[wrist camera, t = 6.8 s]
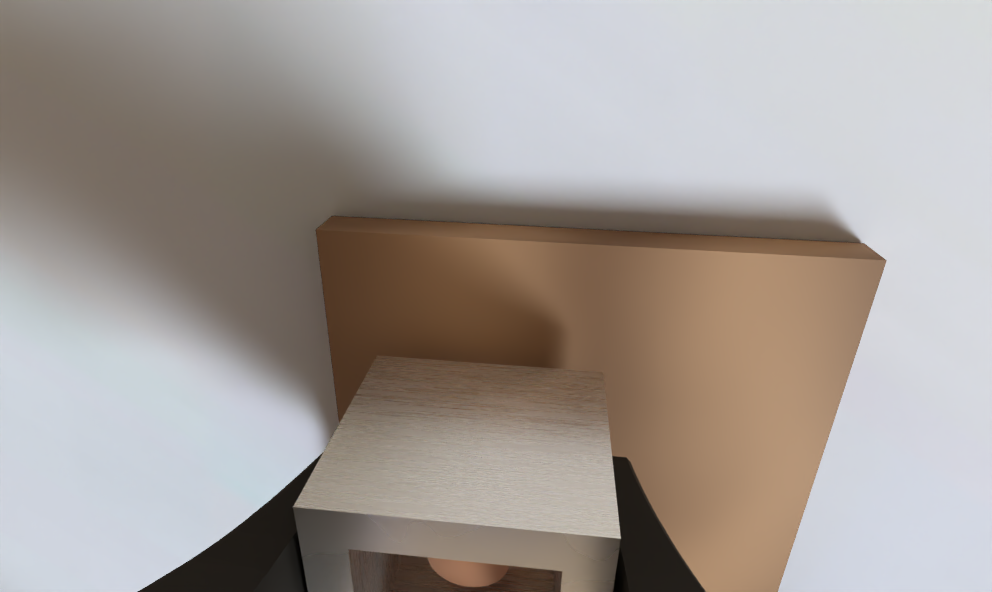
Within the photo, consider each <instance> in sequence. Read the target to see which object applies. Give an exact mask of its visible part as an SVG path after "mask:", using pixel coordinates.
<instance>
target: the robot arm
mask: <svg viewBox="0 0 992 592" xmlns="http://www.w3.org/2000/svg"><path fill="white" fill-rule="evenodd" d="M322 454H323V453H322ZM322 454H321V455H320V456H319V457H318V458H317V459H315V460H314V461H313V462H312V463H311V464H310V465H309V466H308V467H307V468H306V469H305V470H304V471H303V472H301V473H300V474H299V475H298V476H297V477H296V478H295V479H294V480H293V481H291V482H290V483H289V484H288V485H287V486H286V487H285V488H284V489H282V490H281V491H280V492H279V493H278V494H277V495H276V496H274V497H273V498H272V499H271V500H270V501H269V502H267V503H266V504H265V505H264V506H262V507H261V508H260V509H259V510H258V511H256V512H255V513H254V514H253V515H251V516H250V517H249V518H248V519H246V520H245V521H244V522H243V523H242V524H240V525H239V526H238V527H236V528H235V529H234V530H232V531H231V532H230V533H228V534H227V535H226V536H224V537H223V538H222V539H220V540H219V541H217V542H216V543H214V544H213V545H212V546H210V547H209V548H207V549H206V550H204V551H203V552H201V553H200V554H199V555H197V556H196V557H194V558H192V559H191V560H189V561H188V562H186V563H185V564H183V565H181V566H180V567H178V568H176V569H175V570H173V571H171V572H170V573H168V574H166V575H165V576H163V577H162V578H160V579H158V580H157V581H155V582H153V583H152V584H150V585H148V586H147V587H145V588H143V589H142V590H140V591H138V592H308V589H307V583H306V577H305V572H304V566H303V560H302V555H301V549H300V544H299V538H298V532H297V527H296V521H295V515H294V510H293V506H294V504H295V503H296V501H297V499H298V497H299V495H300V494H301V492H302V490H303V488H304V486H305V485H306V483H307V481H308V479H309V477H310V476H311V474H312V472H313V470H314V468H315V467H316V465H317V463H318V461H319V459H320V458H321V456H322ZM612 460H613V470H614V479H615V488H616V498H617V507H618V517H619V526H620V535H621V541H620V548H619V554H618V561H617V568H616V574H615V581H614V587H613V592H706V591H705V589H704V588H703V587H702V585H701V584H700V583H699V581H698V580H697V578H696V577H695V576H694V574H693V573H692V571H691V570H690V568H689V567H688V565H687V564H686V562H685V561H684V559H683V558H682V556H681V555H680V553H679V552H678V550H677V548H676V547H675V545H674V544H673V542H672V541H671V539H670V537H669V535H668V534H667V532H666V530H665V529H664V527H663V525H662V524H661V522H660V520H659V518H658V517H657V515H656V513H655V511H654V510H653V508H652V506H651V504H650V502H649V500H648V498H647V496H646V494H645V492H644V490H643V488H642V486H641V484H640V482H639V480H638V478H637V476H636V473H635V471H634V469H633V466H632V464H631V462H630V461H629V460H628V459H627V457H617V456H612Z"/></svg>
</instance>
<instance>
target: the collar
mask: <svg viewBox="0 0 992 592" xmlns="http://www.w3.org/2000/svg"><path fill="white" fill-rule="evenodd" d="M293 510H294V515H295V521H296V527H297V532H298V538H299V544H300V549H301V555H302V560H303V566H304V572H305V577H306V583H307V589H308V592H613V587H614V581H615V574H616V568H617V561H618V554H619V548H620V541H621V535H620V526H619V517H618V507H617V498H616V488H615V479H614V470H613V460H612V451H611V441H610V432H609V423H608V413H607V404H606V395H605V385H604V376H603V372H596V371H582V370H568V369H554V368H540V367H526V366H513V365H499V364H485V363H471V362H457V361H443V360H430V359H416V358H402V357H388V356H377V357H376V359H375V360H374V362H373V364H372V366H371V368H370V369H369V371H368V373H367V375H366V377H365V378H364V380H363V382H362V384H361V386H360V387H359V389H358V391H357V393H356V395H355V396H354V398H353V400H352V402H351V404H350V405H349V407H348V409H347V411H346V413H345V414H344V416H343V418H342V420H341V422H340V423H339V425H338V427H337V429H336V431H335V432H334V434H333V436H332V438H331V440H330V441H329V443H328V445H327V447H326V449H325V450H324V452H323V454H322V456H321V458H320V459H319V461H318V463H317V465H316V467H315V468H314V470H313V472H312V474H311V476H310V477H309V479H308V481H307V483H306V485H305V486H304V488H303V490H302V492H301V494H300V495H299V497H298V499H297V501H296V503H295V504H294V506H293ZM427 557H429V558H439V559H448V560H458V561H468V562H478V563H487V564H497V565H507V566H509V569H508V571H507V573H506V574H505V576H504V577H503V578H501V579H500V580H499V581H497V582H495V583H493V584H491V585H487V586H482V587H466V586H461V585H457V584H454V583H452V582H449V581H447V580H446V579H444V578H442V577H441V576H440V575H439V574H437V573H436V572H435V571H434V569H433V568H432V567H431V565H430V563H429V561H428V558H427Z"/></svg>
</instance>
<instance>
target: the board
mask: <svg viewBox="0 0 992 592" xmlns="http://www.w3.org/2000/svg"><path fill="white" fill-rule="evenodd" d="M316 236H317V244H318V252H319V261H320V269H321V277H322V285H323V294H324V302H325V310H326V318H327V327H328V335H329V343H330V351H331V360H332V368H333V376H334V385H335V393H336V401H337V409H338V418H339V423H340V422H341V420H342V418H343V416H344V414H345V413H346V411H347V409H348V407H349V405H350V404H351V402H352V400H353V398H354V396H355V395H356V393H357V391H358V389H359V387H360V386H361V384H362V382H363V380H364V378H365V377H366V375H367V373H368V371H369V369H370V368H371V366H372V364H373V362H374V360H375V359H376V357H377V356H388V357H402V358H416V359H430V360H443V361H457V362H471V363H485V364H499V365H513V366H526V367H540V368H554V369H568V370H582V371H596V372H603V376H604V385H605V395H606V404H607V413H608V423H609V432H610V441H611V451H612V456H617V457H627V459H628V460H629V461H630V462H631V464H632V466H633V469H634V471H635V473H636V476H637V478H638V480H639V482H640V484H641V486H642V488H643V490H644V492H645V494H646V496H647V498H648V500H649V502H650V504H651V506H652V508H653V510H654V511H655V513H656V515H657V517H658V518H659V520H660V522H661V524H662V525H663V527H664V529H665V530H666V532H667V534H668V535H669V537H670V539H671V541H672V542H673V544H674V545H675V547H676V548H677V550H678V552H679V553H680V555H681V556H682V558H683V559H684V561H685V562H686V564H687V565H688V567H689V568H690V570H691V571H692V573H693V574H694V576H695V577H696V578H697V580H698V581H699V583H700V584H701V585H702V587H703V588H704V589H705V591H706V592H778V589H779V586H780V583H781V580H782V577H783V574H784V571H785V568H786V564H787V561H788V558H789V555H790V552H791V549H792V546H793V543H794V540H795V537H796V534H797V531H798V528H799V525H800V522H801V519H802V516H803V513H804V510H805V507H806V504H807V501H808V498H809V495H810V492H811V488H812V485H813V482H814V479H815V476H816V473H817V470H818V467H819V464H820V461H821V458H822V455H823V452H824V449H825V446H826V443H827V440H828V437H829V434H830V431H831V428H832V425H833V422H834V419H835V416H836V413H837V409H838V406H839V403H840V400H841V397H842V394H843V391H844V388H845V385H846V382H847V379H848V376H849V373H850V370H851V367H852V364H853V361H854V358H855V355H856V352H857V349H858V346H859V343H860V340H861V337H862V333H863V330H864V327H865V324H866V321H867V318H868V315H869V312H870V309H871V306H872V303H873V300H874V297H875V294H876V291H877V288H878V285H879V282H880V279H881V276H882V273H883V270H884V267H885V264H886V261H887V260H885V259H884V258H883V257H881V256H880V255H879V254H877V253H876V252H875V251H873V250H872V249H871V248H869V247H868V246H867V245H865V244H864V243H847V242H827V241H808V240H788V239H769V238H749V237H730V236H710V235H691V234H671V233H652V232H633V231H613V230H594V229H574V228H555V227H535V226H516V225H496V224H477V223H458V222H438V221H419V220H399V219H380V218H360V217H341V216H331V217H330V218H329V219H328V220H327V221H326V222H324V223H323V224H322V225H321V226H320V227H318V228H317V229H316Z"/></svg>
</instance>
